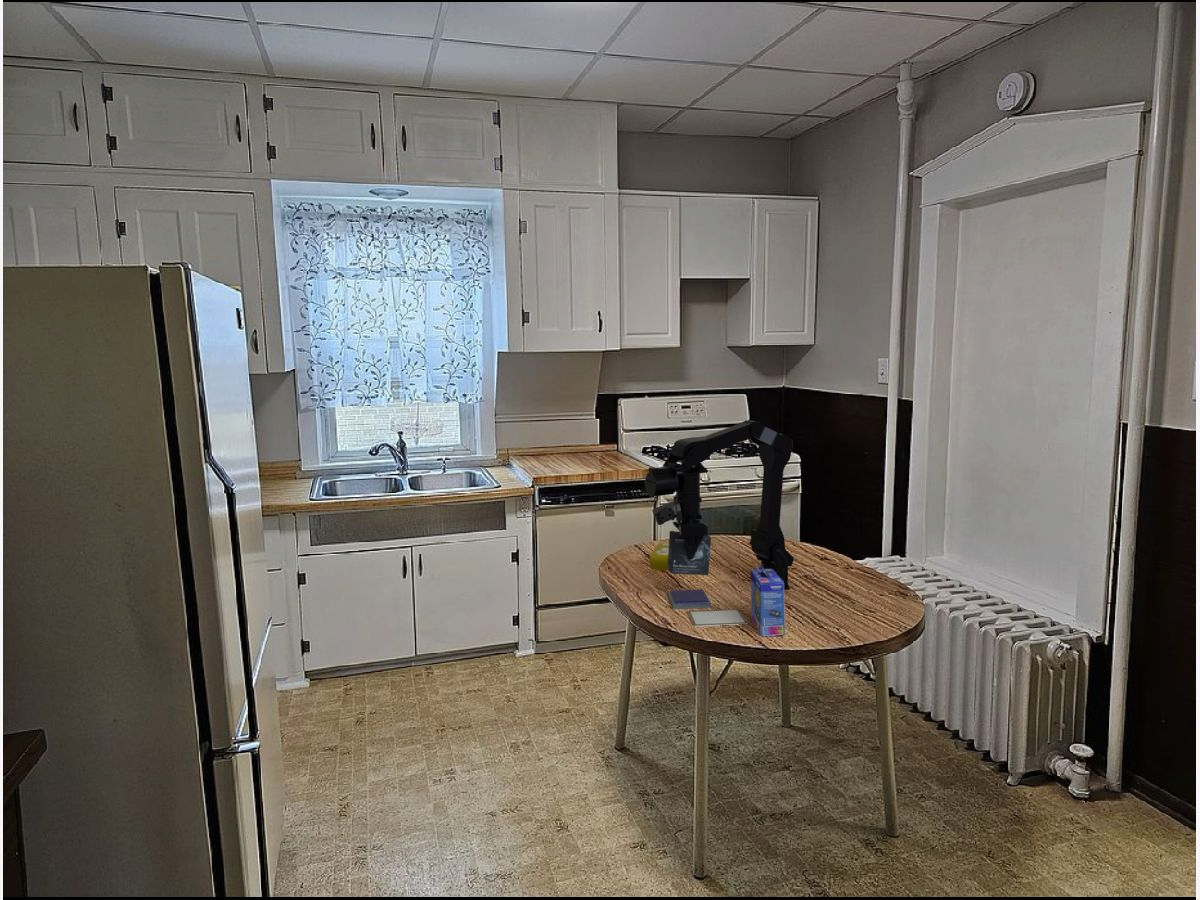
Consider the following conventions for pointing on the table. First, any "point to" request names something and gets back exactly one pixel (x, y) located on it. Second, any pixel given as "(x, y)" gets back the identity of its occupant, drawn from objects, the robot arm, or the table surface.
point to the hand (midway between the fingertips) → (688, 555)
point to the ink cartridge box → (767, 602)
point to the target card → (716, 617)
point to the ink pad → (689, 599)
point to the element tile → (659, 557)
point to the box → (679, 557)
